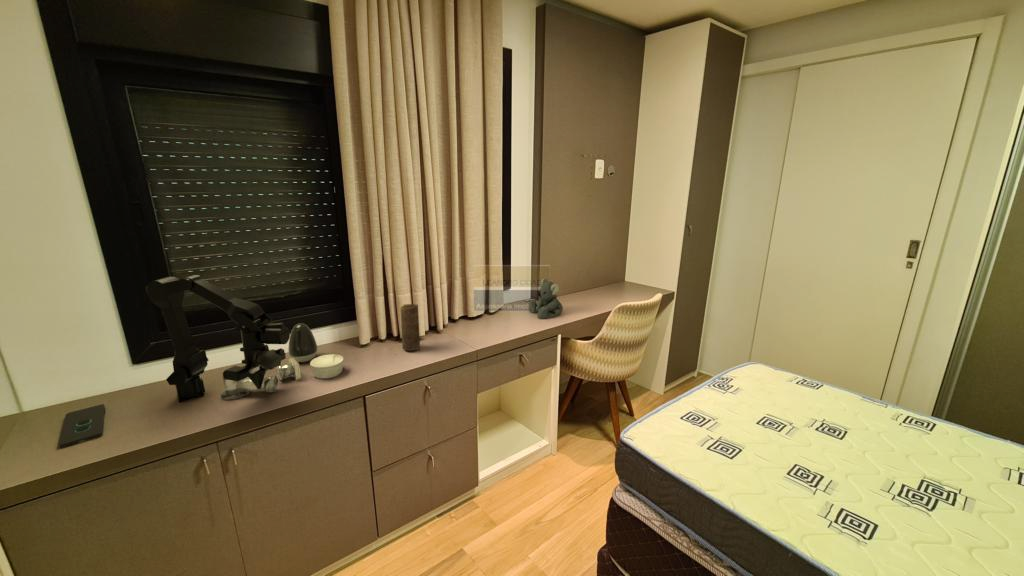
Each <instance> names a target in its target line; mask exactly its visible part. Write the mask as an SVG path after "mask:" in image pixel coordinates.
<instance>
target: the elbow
mask: <svg viewBox="0 0 1024 576" xmlns="http://www.w3.org/2000/svg"><path fill="white" fill-rule="evenodd" d="M222 380H223V386H224V391H225V392H226V395H236V394H239V393H241V392H248V391H250V392H266V393H275V392H276V391H277V389H278V385H279V378H278V376H276V375H268V376H266V377H264V379H263V382H262V386H261V389H257V387H256V386H255V384H254V383H253V382H252V381H251V380H250V378H249V377H247V378H245V379H243V380H241V381H233V380H225V379H223V378H222Z"/></svg>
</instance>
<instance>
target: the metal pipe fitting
mask: <svg viewBox="0 0 1024 576" xmlns="http://www.w3.org/2000/svg"><path fill="white" fill-rule="evenodd" d="M300 370H301V369H300V363H299V362H297V361H296V360H295V359H294V358H291V357H290V358H288V363H285V364H283V365H282V364H280V366H277V367H276V373H277V377H278V380H279V381H283V380H284V379H285V378H288V377H293V378H294V379H295V381H300V380H302V378H301V377H302V376H301V371H300ZM249 393H251V391H248V392H241V393H239V394H236V395H226V392H225V390H224V391H222V392H221V394H220V398H221V400H224V401H233V400H238V399H241V398H243V397H246V396H247V395H248V394H249Z"/></svg>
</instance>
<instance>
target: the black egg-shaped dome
mask: <svg viewBox="0 0 1024 576" xmlns="http://www.w3.org/2000/svg"><path fill="white" fill-rule="evenodd" d="M287 350H288V351H287V352H288V355H289V356H290V358H294V359H295V360H296V361H297V362H298V363H306V362H311V361H312V360H313V359H315V358H316V355H317V352H318V344H317V341H316V338H315V336H314V333H313V332H312V330H311V329H310V327H309V326H308V325H307V324H305V323H297V324H295V325H294V326H293V328H292V329H291V332H290V337H289V340H288V349H287Z"/></svg>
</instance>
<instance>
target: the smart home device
mask: <svg viewBox="0 0 1024 576" xmlns="http://www.w3.org/2000/svg"><path fill="white" fill-rule="evenodd" d="M105 415H106V406H105V404H104V403H101V404H97V405H94V406H89V407H85V408H82V409H78V410H74V411H70V412H67V413H66V414H65V415H64V419H63V423H62V426H61V427H62V428H61V432H60V435H59V440H58V443H57V445H58V448H59V449H65V448H67V447H71V446H75V445H78V444H81V443H85V442H88V441H91V440H95V439H98V438H101V437H103V435H104V426H105Z"/></svg>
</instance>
